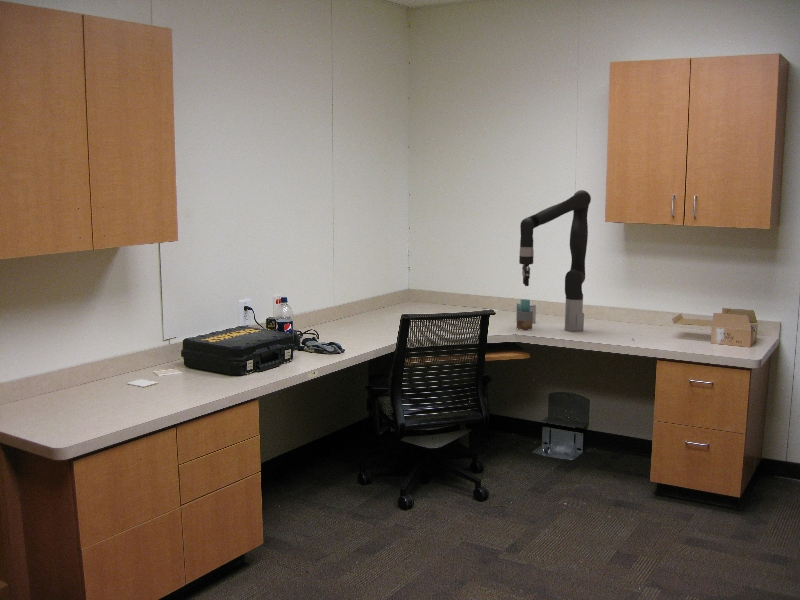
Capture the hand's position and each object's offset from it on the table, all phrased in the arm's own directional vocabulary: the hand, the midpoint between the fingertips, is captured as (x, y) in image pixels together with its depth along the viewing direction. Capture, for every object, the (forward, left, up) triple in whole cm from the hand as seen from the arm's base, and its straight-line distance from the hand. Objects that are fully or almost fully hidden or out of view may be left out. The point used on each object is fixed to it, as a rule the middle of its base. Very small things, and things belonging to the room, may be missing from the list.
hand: (525, 284), depth 439 cm
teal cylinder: (0, +1, -14) cm, 14 cm away
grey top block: (0, +1, -19) cm, 19 cm away
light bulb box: (+13, -16, -24) cm, 32 cm away
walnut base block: (0, +1, -24) cm, 24 cm away
